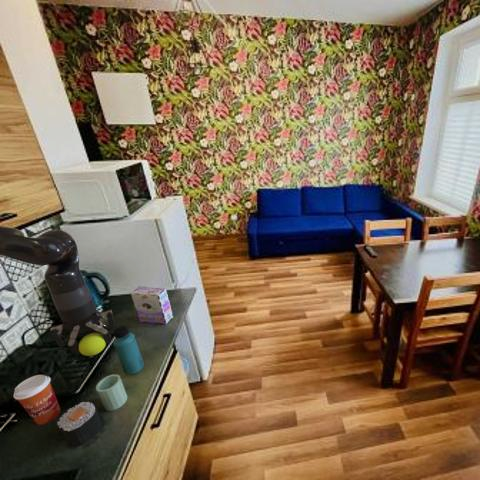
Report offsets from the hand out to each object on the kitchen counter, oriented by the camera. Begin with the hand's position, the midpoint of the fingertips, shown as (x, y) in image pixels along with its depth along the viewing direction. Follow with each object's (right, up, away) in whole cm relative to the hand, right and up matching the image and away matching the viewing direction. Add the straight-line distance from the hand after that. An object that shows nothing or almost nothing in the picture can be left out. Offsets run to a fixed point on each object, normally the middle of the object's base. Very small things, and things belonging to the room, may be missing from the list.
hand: (93, 347), depth 80 cm
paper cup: (-17, -23, +4) cm, 29 cm away
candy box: (-9, -6, +46) cm, 47 cm away
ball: (0, +1, 0) cm, 1 cm away
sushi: (-2, -25, 0) cm, 25 cm away
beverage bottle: (-1, -17, +20) cm, 26 cm away
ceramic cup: (0, -22, +8) cm, 23 cm away
